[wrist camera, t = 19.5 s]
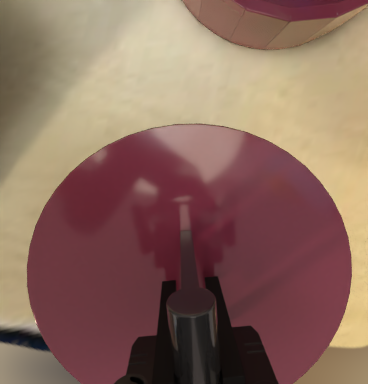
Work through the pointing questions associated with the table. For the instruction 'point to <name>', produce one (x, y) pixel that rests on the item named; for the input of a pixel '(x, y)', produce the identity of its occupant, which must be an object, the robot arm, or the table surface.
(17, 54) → the table surface
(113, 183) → the lid
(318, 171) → the table surface
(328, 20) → the pot
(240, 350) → the robot arm
